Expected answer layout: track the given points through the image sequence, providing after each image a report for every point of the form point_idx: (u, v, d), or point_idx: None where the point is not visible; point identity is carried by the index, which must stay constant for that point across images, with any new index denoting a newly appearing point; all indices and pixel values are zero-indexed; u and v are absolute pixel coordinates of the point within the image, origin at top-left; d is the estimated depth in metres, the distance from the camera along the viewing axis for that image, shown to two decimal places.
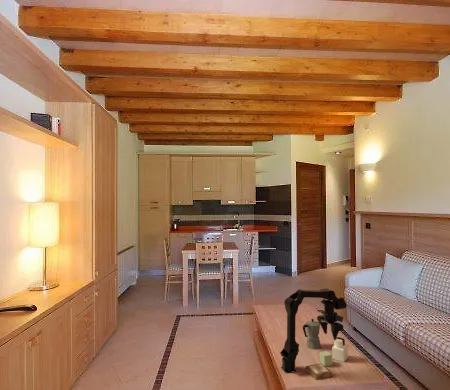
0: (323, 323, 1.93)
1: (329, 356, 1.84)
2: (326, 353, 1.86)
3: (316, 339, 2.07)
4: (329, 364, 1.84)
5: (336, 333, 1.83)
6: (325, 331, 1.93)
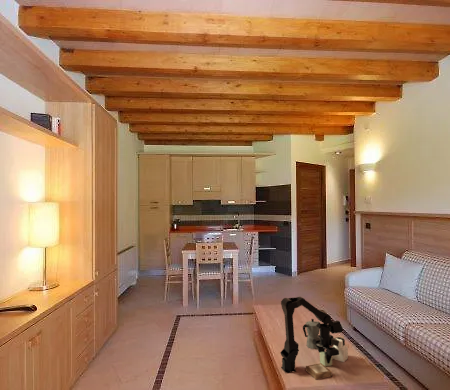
0: (320, 348, 1.89)
1: None
2: None
3: None
4: (329, 364, 1.84)
5: (329, 356, 1.82)
6: None
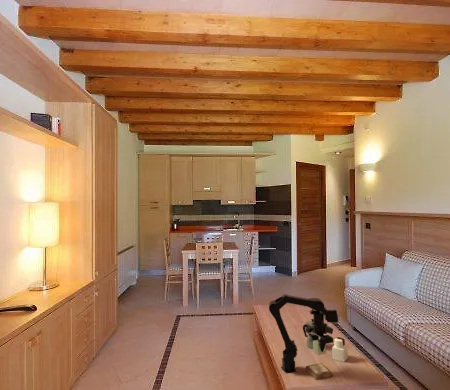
0: (314, 336, 1.81)
1: None
2: None
3: None
4: (323, 352, 1.76)
5: (323, 345, 1.75)
6: None
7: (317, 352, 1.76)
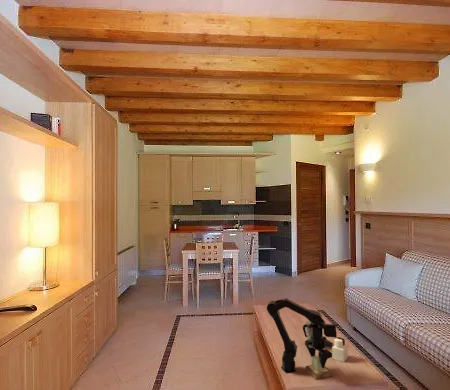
0: (311, 349, 1.80)
1: None
2: None
3: None
4: (322, 369, 1.73)
5: (324, 361, 1.70)
6: None
7: (316, 368, 1.73)
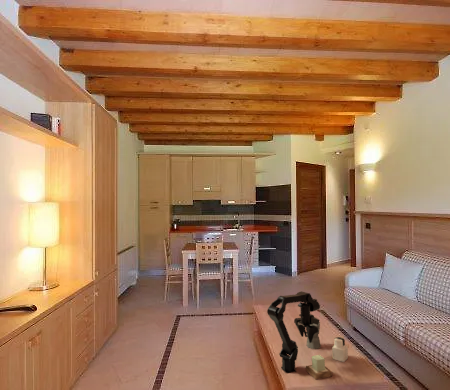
0: (300, 326, 1.94)
1: (322, 360, 1.74)
2: (319, 357, 1.76)
3: (316, 339, 2.07)
4: (322, 369, 1.73)
5: (311, 336, 1.84)
6: (302, 334, 1.94)
7: (316, 368, 1.73)
